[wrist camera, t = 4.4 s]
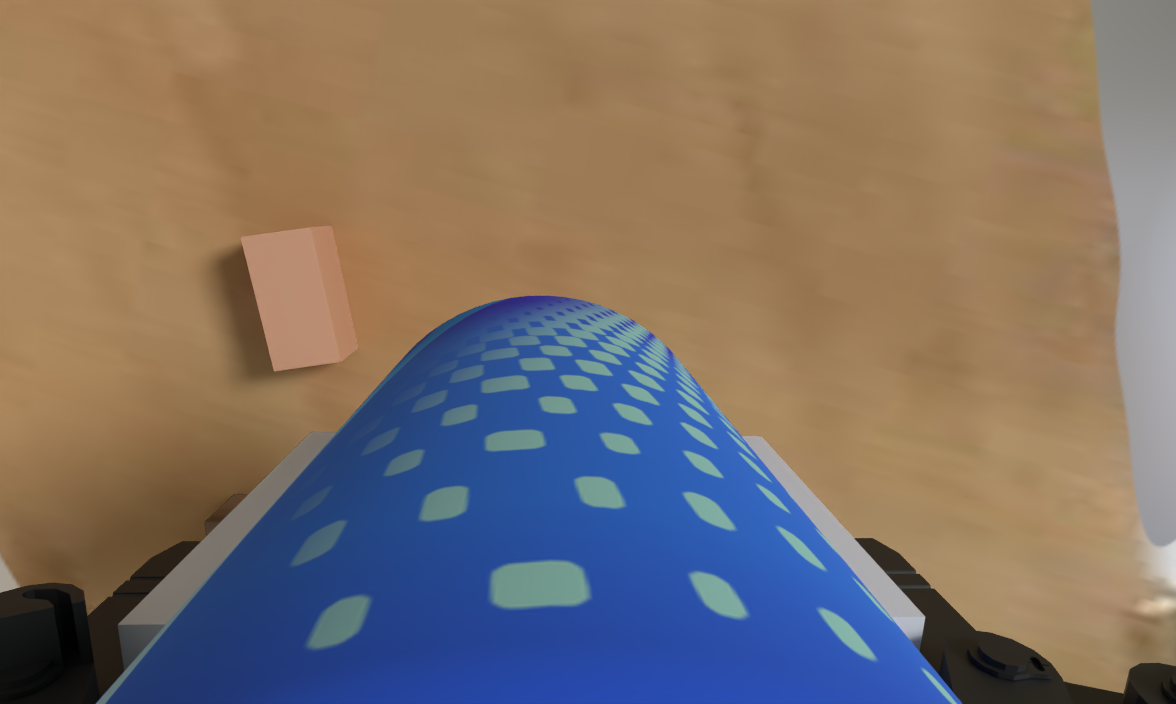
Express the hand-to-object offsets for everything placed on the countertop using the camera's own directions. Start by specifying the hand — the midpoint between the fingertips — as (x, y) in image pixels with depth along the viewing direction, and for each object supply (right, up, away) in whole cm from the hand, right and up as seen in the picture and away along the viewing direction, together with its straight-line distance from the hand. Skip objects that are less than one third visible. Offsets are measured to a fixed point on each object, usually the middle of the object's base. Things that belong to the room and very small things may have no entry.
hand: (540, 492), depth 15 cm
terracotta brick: (-12, +6, +17) cm, 22 cm away
